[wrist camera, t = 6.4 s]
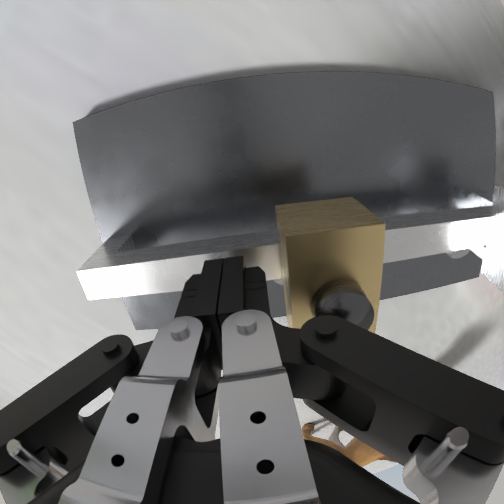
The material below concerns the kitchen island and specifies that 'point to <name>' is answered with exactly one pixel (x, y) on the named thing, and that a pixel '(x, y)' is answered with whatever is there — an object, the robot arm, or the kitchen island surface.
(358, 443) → the lion figurine
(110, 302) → the kitchen island surface
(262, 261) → the divider frame
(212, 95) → the bolt plate
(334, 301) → the block
